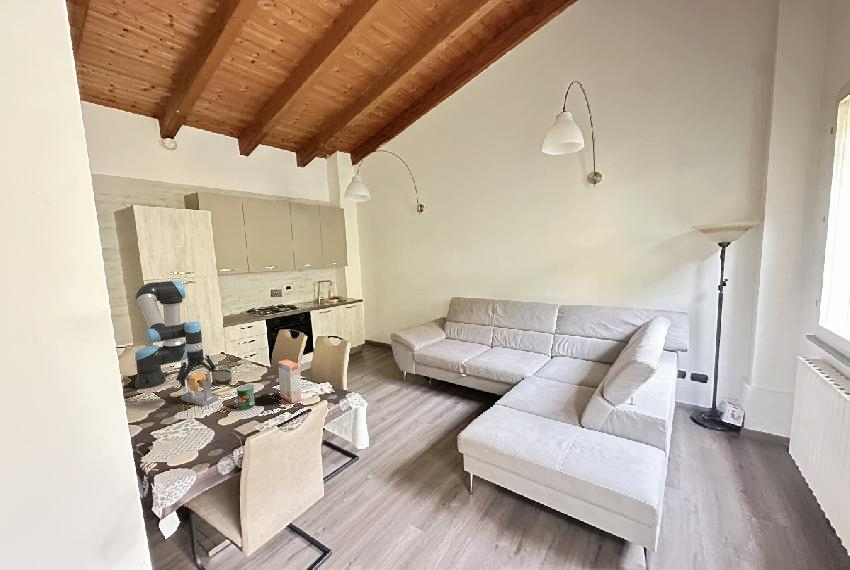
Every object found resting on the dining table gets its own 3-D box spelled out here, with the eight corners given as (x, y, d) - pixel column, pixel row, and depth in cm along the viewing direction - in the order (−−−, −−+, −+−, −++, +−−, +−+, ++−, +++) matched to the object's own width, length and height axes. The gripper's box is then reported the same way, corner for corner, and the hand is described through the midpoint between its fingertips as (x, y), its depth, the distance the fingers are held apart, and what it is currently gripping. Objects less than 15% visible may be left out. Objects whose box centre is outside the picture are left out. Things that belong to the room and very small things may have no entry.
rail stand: (181, 399, 193) (179, 378, 192) (195, 394, 201) (193, 373, 199) (203, 406, 185) (201, 384, 183) (218, 400, 192) (216, 378, 191)
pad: (210, 393, 201) (210, 392, 201) (226, 386, 210) (226, 385, 210) (221, 396, 197) (221, 395, 197) (237, 389, 206) (237, 388, 206)
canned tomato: (236, 411, 179) (234, 391, 178) (240, 404, 187) (238, 385, 185) (253, 409, 181) (251, 389, 180) (256, 402, 189) (254, 383, 187)
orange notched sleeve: (190, 390, 190) (188, 377, 189) (201, 386, 196) (199, 373, 195) (195, 391, 188) (194, 378, 187) (206, 387, 194) (205, 374, 193)
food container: (238, 381, 219) (237, 366, 218) (231, 385, 213) (230, 369, 212) (220, 380, 220) (218, 365, 219) (213, 384, 214) (211, 369, 213)
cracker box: (301, 400, 191) (299, 364, 188) (291, 404, 186) (289, 367, 184) (289, 393, 200) (287, 358, 198) (279, 396, 196) (277, 361, 193)
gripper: (174, 357, 176) (178, 397, 179) (220, 344, 199) (223, 379, 201) (165, 355, 180) (170, 394, 182) (212, 343, 202) (215, 377, 205)
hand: (198, 386), depth 192 cm, fingers open, 13 cm apart
